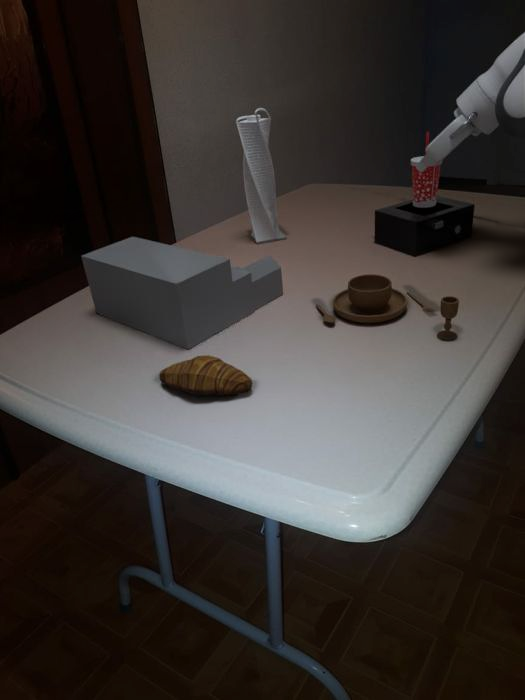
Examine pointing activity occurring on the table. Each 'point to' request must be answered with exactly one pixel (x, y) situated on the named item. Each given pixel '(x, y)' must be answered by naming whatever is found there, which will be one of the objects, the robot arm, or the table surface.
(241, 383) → the croissant
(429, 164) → the robot arm
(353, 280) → the place setting
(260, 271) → the grey stepped block
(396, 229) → the black open top box
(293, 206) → the table surface
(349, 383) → the table surface
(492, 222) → the table surface
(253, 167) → the skyscraper
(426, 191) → the beverage cup
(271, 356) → the table surface
